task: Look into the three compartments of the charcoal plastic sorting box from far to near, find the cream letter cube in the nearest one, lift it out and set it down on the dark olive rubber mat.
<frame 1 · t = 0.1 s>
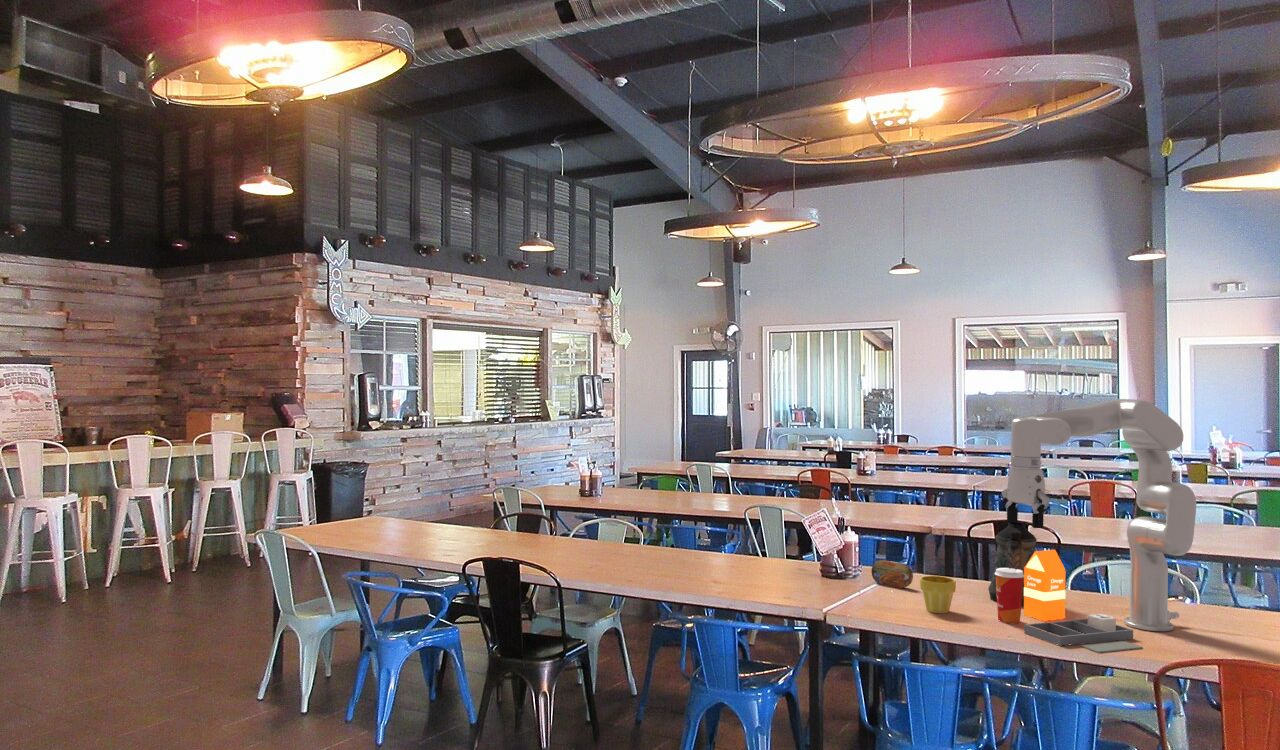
hand: (1024, 525, 250), 31 cm above the table, tool pointing down, fingers open, 9 cm apart
letter cube: (1101, 634, 256), resting in sorting box
coffee cup: (1008, 621, 268), on the table
tin: (892, 586, 314), on the table
orange juice: (1044, 617, 274), on the table
sorting box: (1078, 636, 253), on the table
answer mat: (1111, 647, 242), on the table
dark ornate vase: (1017, 602, 293), on the table
plant pot: (937, 611, 279), on the table
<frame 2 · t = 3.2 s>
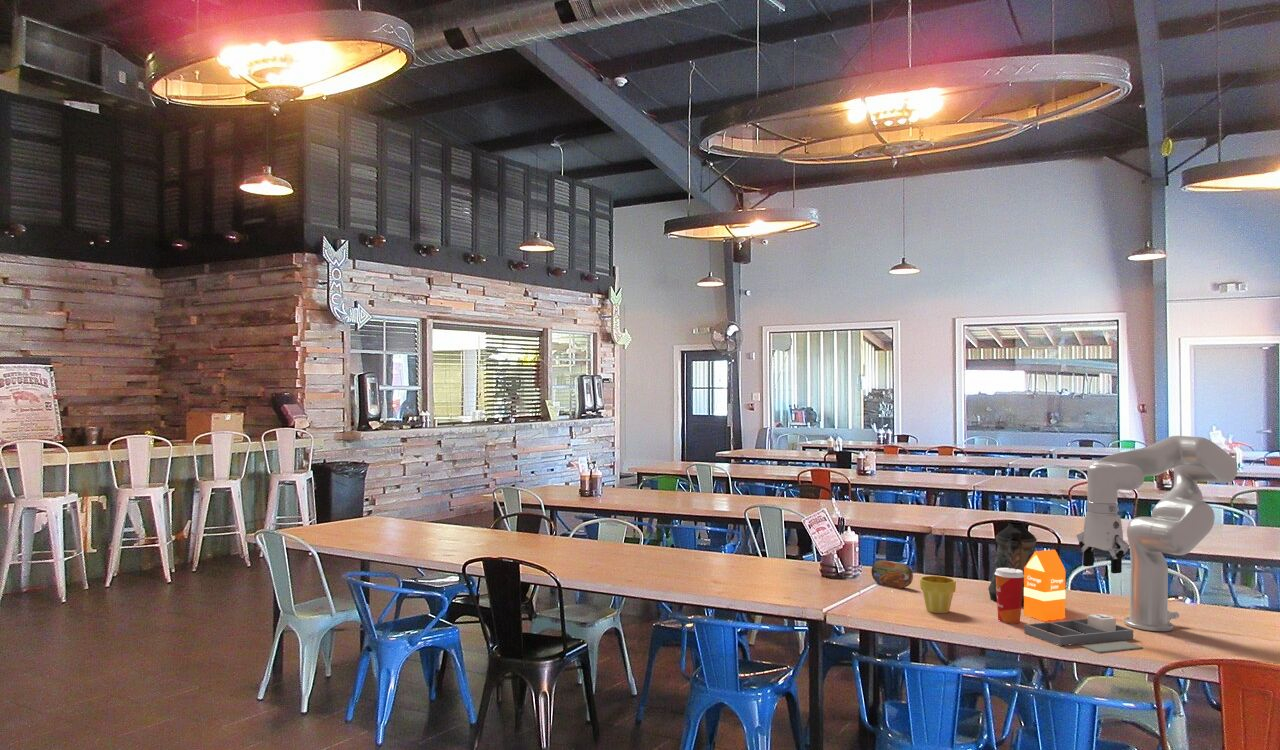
hand: (1102, 569, 256), 18 cm above the table, tool pointing down, fingers open, 9 cm apart
nothing on the table moved.
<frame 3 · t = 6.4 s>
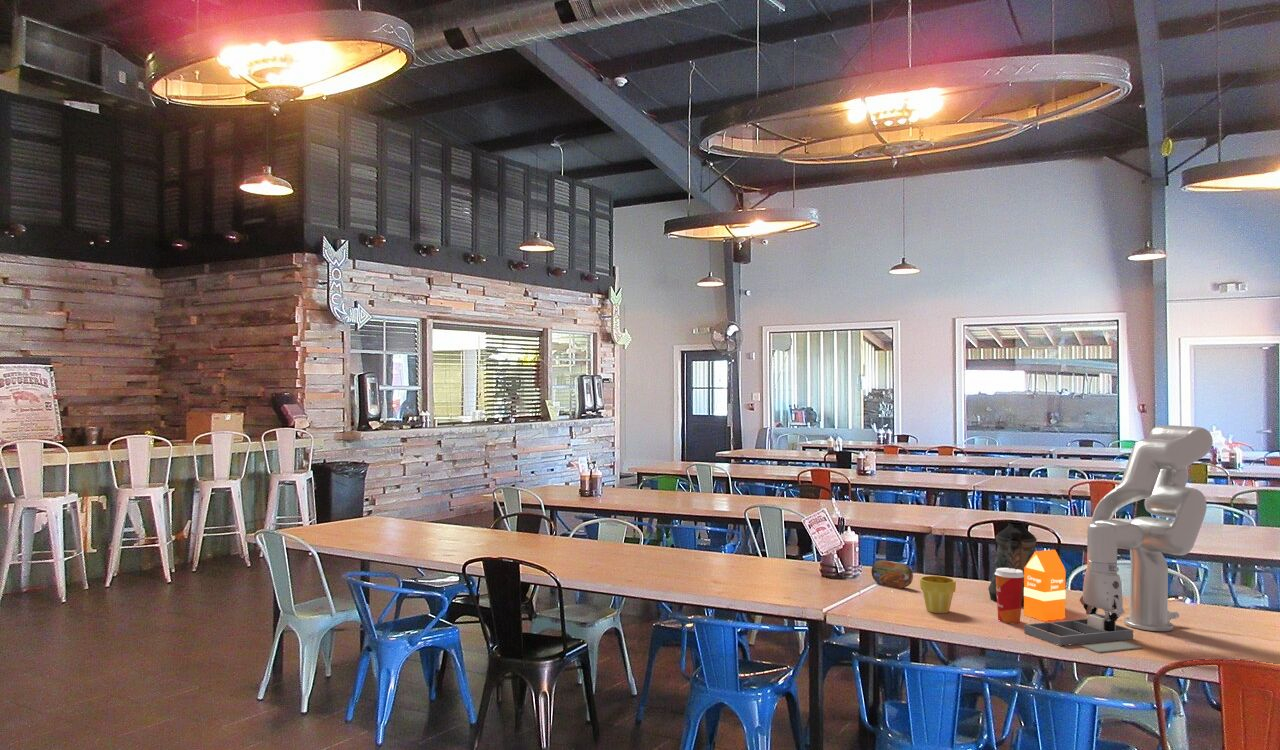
hand: (1101, 631, 256), 1 cm above the table, tool pointing down, fingers closed on letter cube, 5 cm apart
letter cube: (1101, 634, 256), resting in sorting box, touching gripper
everything else where it was.
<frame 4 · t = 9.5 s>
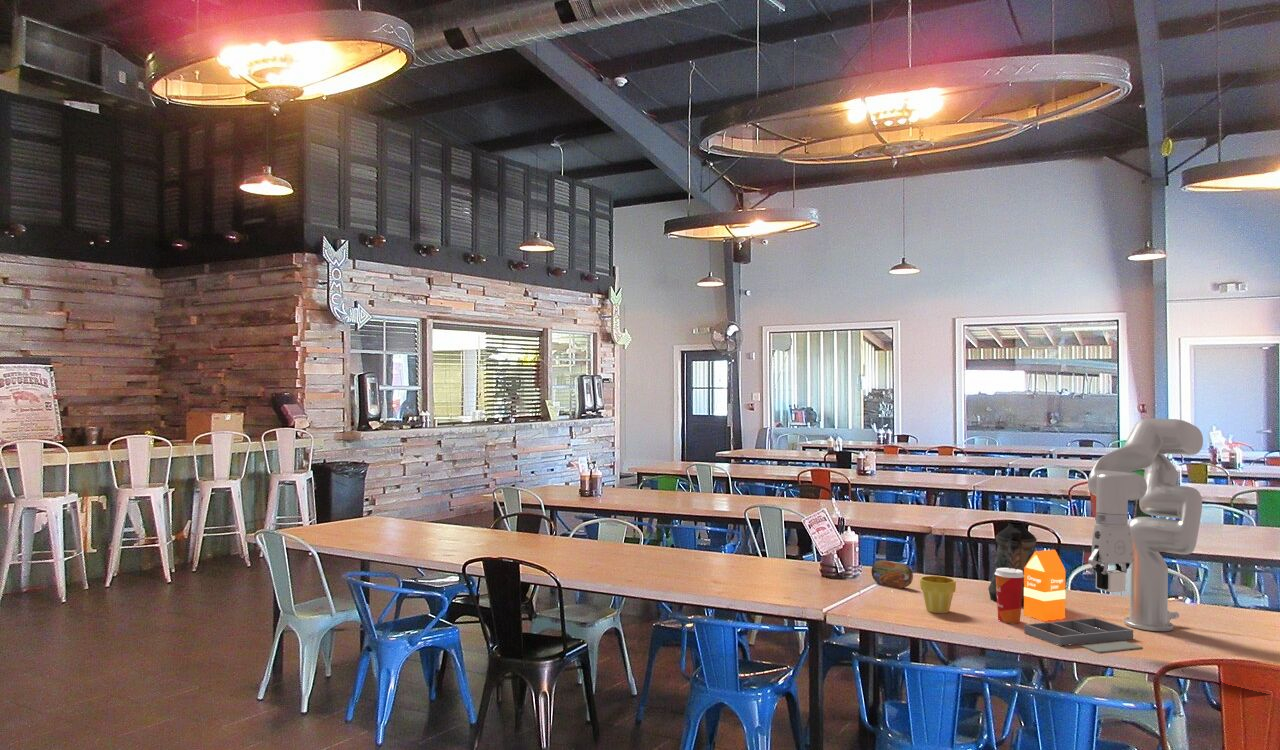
hand: (1110, 587, 243), 16 cm above the table, tool pointing down, fingers closed on letter cube, 5 cm apart
letter cube: (1110, 589, 243), point 15 cm above the table, touching gripper
everything else where it was.
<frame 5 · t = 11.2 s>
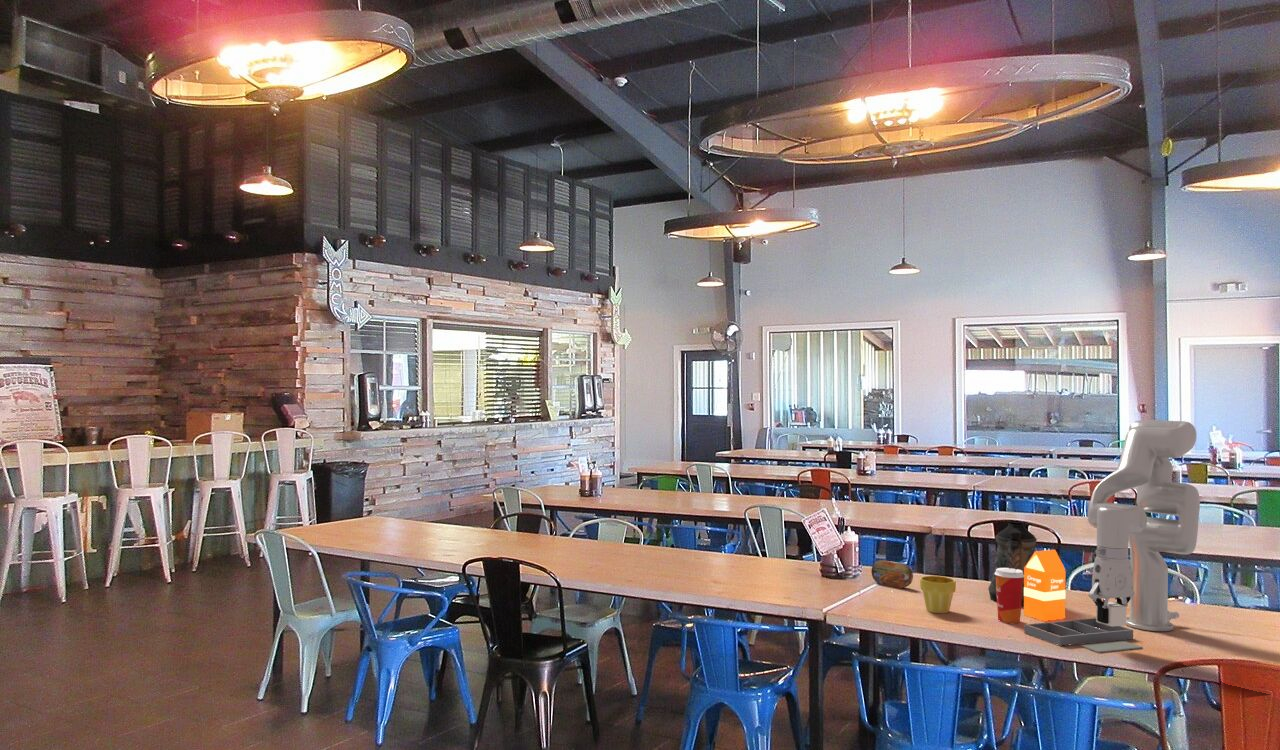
hand: (1111, 621, 242), 7 cm above the table, tool pointing down, fingers closed on letter cube, 5 cm apart
letter cube: (1111, 623, 242), point 6 cm above the table, touching gripper
everything else where it was.
when the fingers open (2 cm above the table, at t = 12.6 s): letter cube stays where it is, resting on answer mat.
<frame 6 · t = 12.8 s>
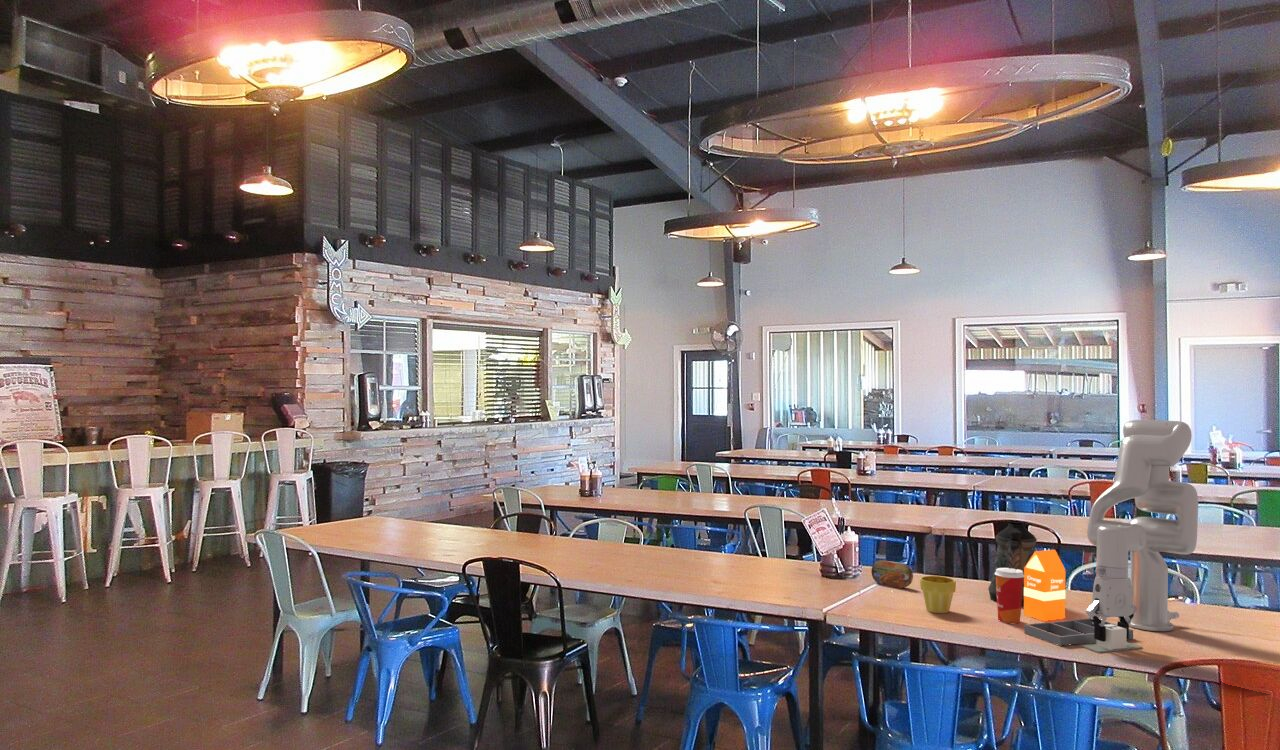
hand: (1111, 638, 242), 2 cm above the table, tool pointing down, fingers open, 7 cm apart
letter cube: (1111, 645, 242), resting on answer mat
everything else where it was.
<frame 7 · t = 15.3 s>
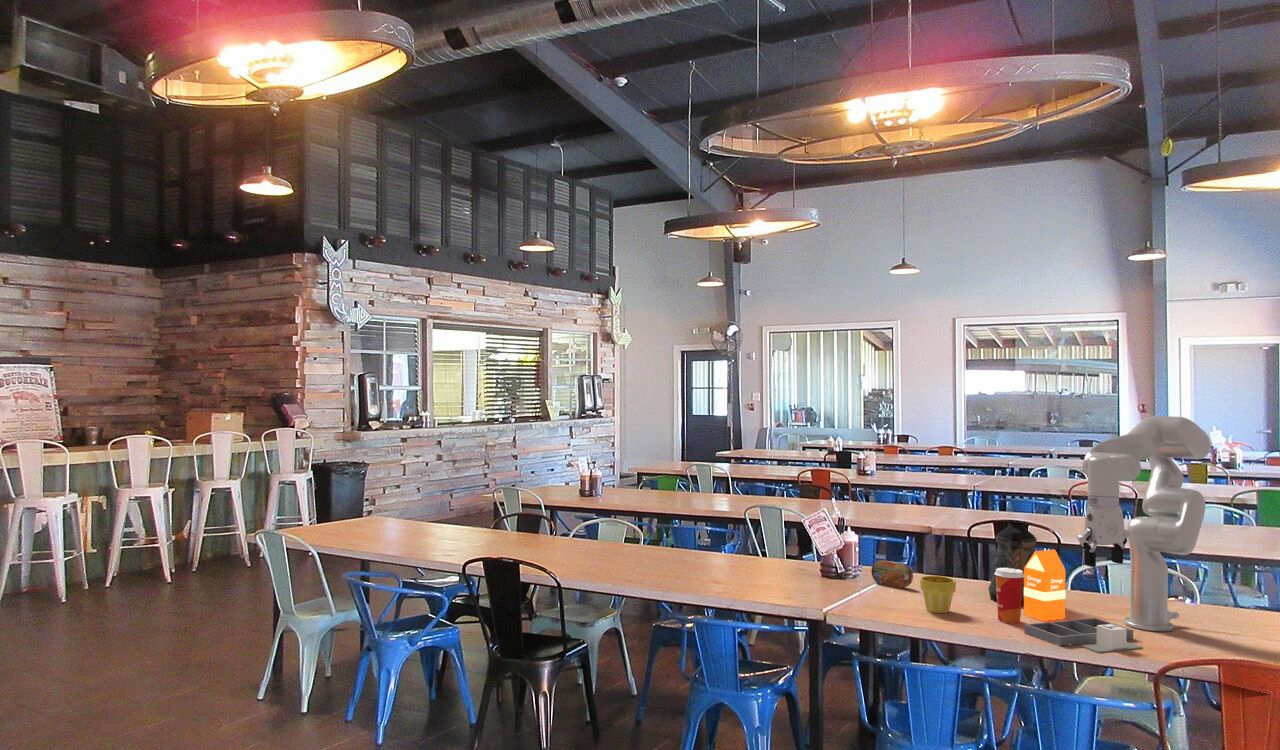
hand: (1103, 564, 247), 21 cm above the table, tool pointing down, fingers open, 9 cm apart
nothing on the table moved.
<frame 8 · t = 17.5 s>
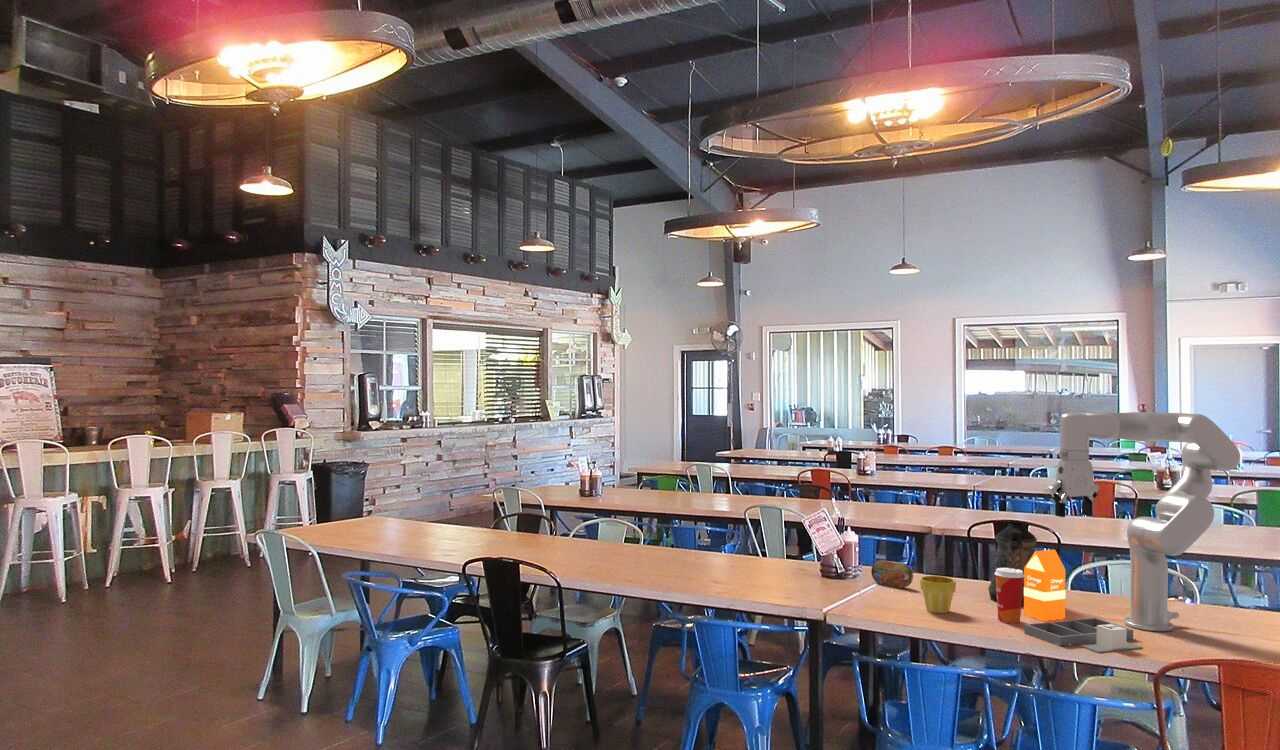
hand: (1073, 515, 261), 32 cm above the table, tool pointing down, fingers open, 9 cm apart
nothing on the table moved.
at the end: letter cube inside the target area on the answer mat (0.1 cm from its centre), point 0.4 cm above the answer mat's base; letter cube tilted 0°; the gripper is holding nothing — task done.
